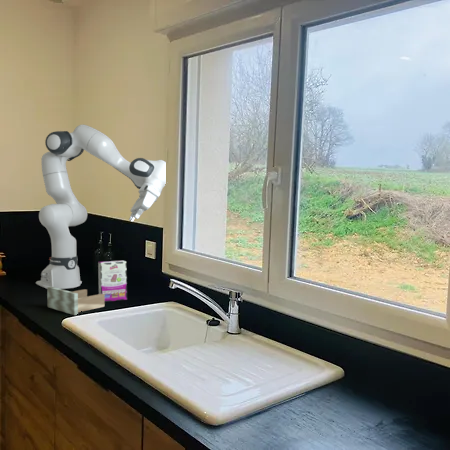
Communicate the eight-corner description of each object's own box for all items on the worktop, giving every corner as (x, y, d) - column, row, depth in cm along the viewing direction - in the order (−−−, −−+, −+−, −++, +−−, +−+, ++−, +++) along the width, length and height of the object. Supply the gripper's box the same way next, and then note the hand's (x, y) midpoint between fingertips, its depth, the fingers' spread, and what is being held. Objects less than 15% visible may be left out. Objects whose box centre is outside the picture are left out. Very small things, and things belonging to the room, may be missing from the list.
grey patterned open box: (47, 306, 202) (47, 287, 201) (81, 300, 214) (81, 281, 213) (74, 315, 190) (74, 294, 190) (108, 307, 203) (108, 287, 202)
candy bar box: (123, 297, 220) (123, 260, 219) (127, 300, 216) (127, 261, 214) (97, 299, 215) (97, 261, 214) (100, 302, 211) (100, 263, 209)
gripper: (136, 193, 234) (121, 218, 229) (149, 185, 215) (132, 212, 211) (148, 200, 236) (133, 225, 231) (161, 193, 217) (145, 220, 213)
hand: (133, 219), depth 221 cm, fingers open, 8 cm apart
